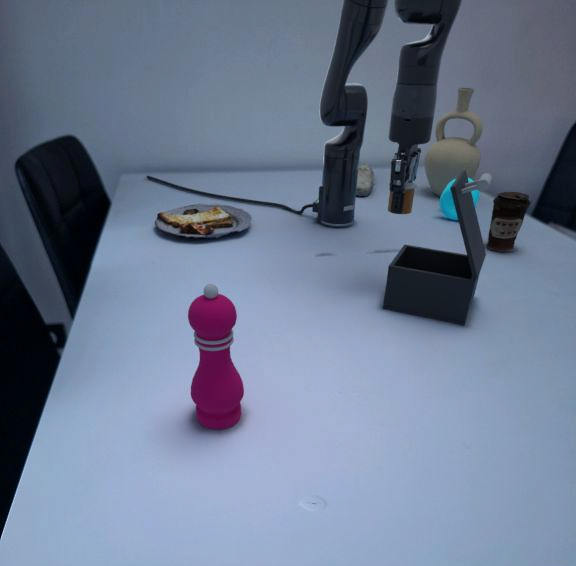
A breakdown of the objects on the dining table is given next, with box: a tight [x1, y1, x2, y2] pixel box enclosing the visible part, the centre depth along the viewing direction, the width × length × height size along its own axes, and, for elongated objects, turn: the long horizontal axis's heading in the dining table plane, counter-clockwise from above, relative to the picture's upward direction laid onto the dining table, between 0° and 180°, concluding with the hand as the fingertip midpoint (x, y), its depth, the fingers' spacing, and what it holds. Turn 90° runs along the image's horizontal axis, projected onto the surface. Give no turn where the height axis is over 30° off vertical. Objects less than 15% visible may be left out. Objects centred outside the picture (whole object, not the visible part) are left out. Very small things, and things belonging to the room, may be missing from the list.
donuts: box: [439, 178, 481, 221], centre depth 150 cm, size 10×10×10 cm
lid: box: [450, 170, 493, 280], centre depth 94 cm, size 16×13×5 cm
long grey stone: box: [356, 161, 375, 197], centre depth 179 cm, size 35×5×10 cm
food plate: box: [154, 203, 253, 239], centre depth 139 cm, size 25×23×4 cm
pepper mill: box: [187, 283, 245, 430], centre depth 69 cm, size 7×7×20 cm
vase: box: [424, 87, 484, 197], centre depth 162 cm, size 17×17×30 cm
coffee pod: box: [387, 181, 418, 215], centre depth 103 cm, size 5×5×5 cm
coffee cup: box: [486, 191, 532, 253], centre depth 128 cm, size 9×8×13 cm
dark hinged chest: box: [382, 244, 480, 326], centre depth 103 cm, size 16×13×9 cm
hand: (399, 209), depth 104 cm, fingers closed on coffee pod, 5 cm apart
